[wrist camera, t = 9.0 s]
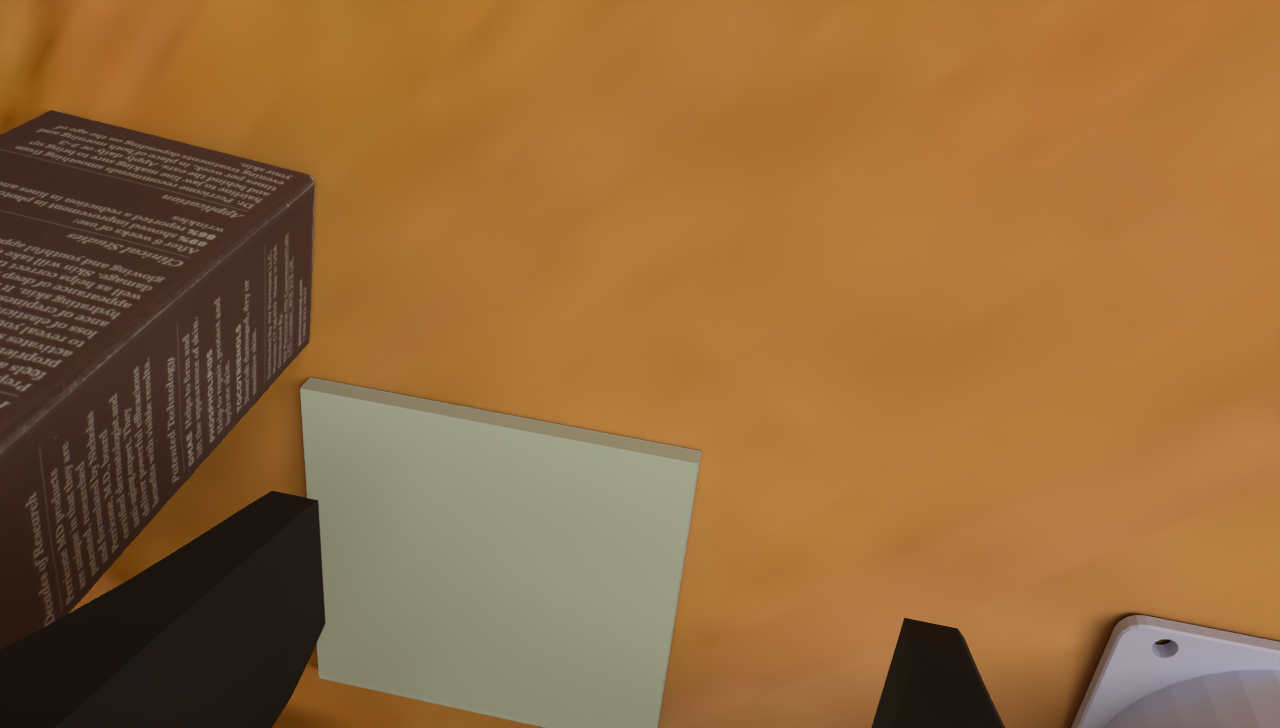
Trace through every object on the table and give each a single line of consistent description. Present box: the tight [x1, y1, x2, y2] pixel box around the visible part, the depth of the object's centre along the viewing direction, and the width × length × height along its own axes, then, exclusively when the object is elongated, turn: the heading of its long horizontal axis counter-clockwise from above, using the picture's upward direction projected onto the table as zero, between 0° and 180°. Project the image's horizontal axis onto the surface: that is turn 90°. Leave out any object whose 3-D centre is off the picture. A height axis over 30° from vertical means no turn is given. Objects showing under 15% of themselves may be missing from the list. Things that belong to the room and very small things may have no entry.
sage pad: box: [300, 377, 702, 728], centre depth 26 cm, size 9×9×1 cm
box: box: [0, 110, 314, 649], centre depth 18 cm, size 6×4×12 cm
